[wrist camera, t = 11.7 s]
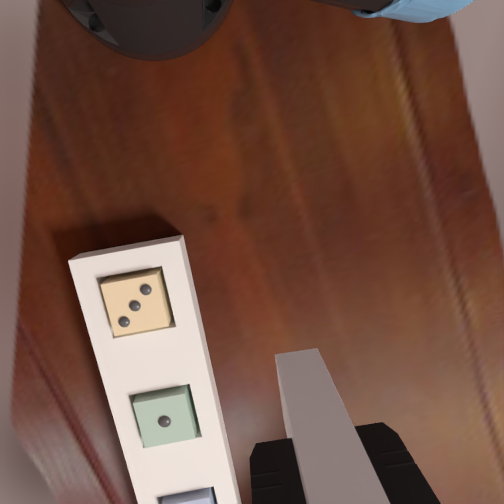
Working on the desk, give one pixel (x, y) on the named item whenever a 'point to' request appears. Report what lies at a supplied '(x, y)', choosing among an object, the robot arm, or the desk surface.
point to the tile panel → (158, 372)
